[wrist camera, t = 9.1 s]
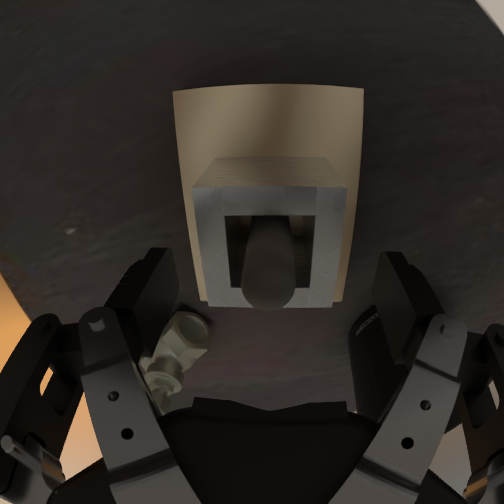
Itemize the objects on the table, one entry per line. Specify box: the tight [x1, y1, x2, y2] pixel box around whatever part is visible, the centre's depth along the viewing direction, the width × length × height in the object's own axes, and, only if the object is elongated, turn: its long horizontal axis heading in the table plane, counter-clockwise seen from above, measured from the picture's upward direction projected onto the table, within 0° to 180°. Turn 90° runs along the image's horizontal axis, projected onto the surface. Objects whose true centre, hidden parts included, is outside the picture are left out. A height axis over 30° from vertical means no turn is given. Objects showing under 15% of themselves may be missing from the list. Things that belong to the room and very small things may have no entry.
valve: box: [140, 311, 212, 415], centre depth 20 cm, size 7×7×12 cm
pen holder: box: [349, 306, 462, 434], centre depth 19 cm, size 9×9×10 cm
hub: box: [192, 157, 347, 308], centre depth 15 cm, size 6×6×5 cm
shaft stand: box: [173, 84, 364, 311], centre depth 14 cm, size 10×14×10 cm
